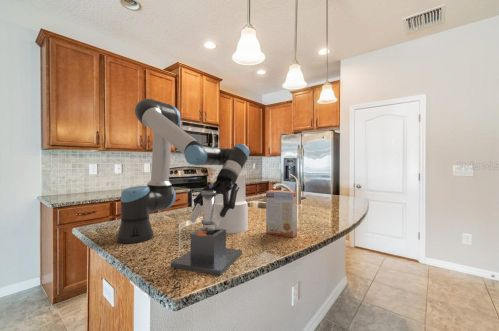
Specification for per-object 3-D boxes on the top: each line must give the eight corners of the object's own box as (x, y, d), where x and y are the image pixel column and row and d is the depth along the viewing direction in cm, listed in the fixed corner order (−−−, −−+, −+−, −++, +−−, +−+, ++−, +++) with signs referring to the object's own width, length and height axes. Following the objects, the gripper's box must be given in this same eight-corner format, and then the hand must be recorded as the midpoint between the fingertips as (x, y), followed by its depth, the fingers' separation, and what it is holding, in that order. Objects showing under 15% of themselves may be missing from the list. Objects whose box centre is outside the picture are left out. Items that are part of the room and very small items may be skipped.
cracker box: (297, 234, 111) (297, 191, 111) (292, 238, 106) (292, 192, 106) (271, 230, 119) (271, 189, 119) (265, 233, 114) (265, 190, 114)
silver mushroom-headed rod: (198, 256, 80) (198, 191, 80) (206, 251, 85) (205, 190, 85) (211, 258, 78) (211, 192, 78) (218, 252, 83) (218, 190, 83)
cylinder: (209, 227, 126) (209, 175, 126) (238, 223, 134) (238, 174, 134) (222, 235, 111) (222, 176, 111) (253, 230, 119) (253, 175, 119)
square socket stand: (170, 267, 76) (170, 232, 76) (199, 248, 93) (199, 220, 93) (220, 275, 70) (220, 238, 70) (241, 254, 87) (241, 224, 87)
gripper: (257, 181, 90) (234, 232, 76) (211, 179, 101) (184, 224, 87) (250, 167, 85) (225, 219, 71) (202, 167, 96) (173, 212, 82)
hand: (202, 222), depth 79 cm, fingers open, 10 cm apart
